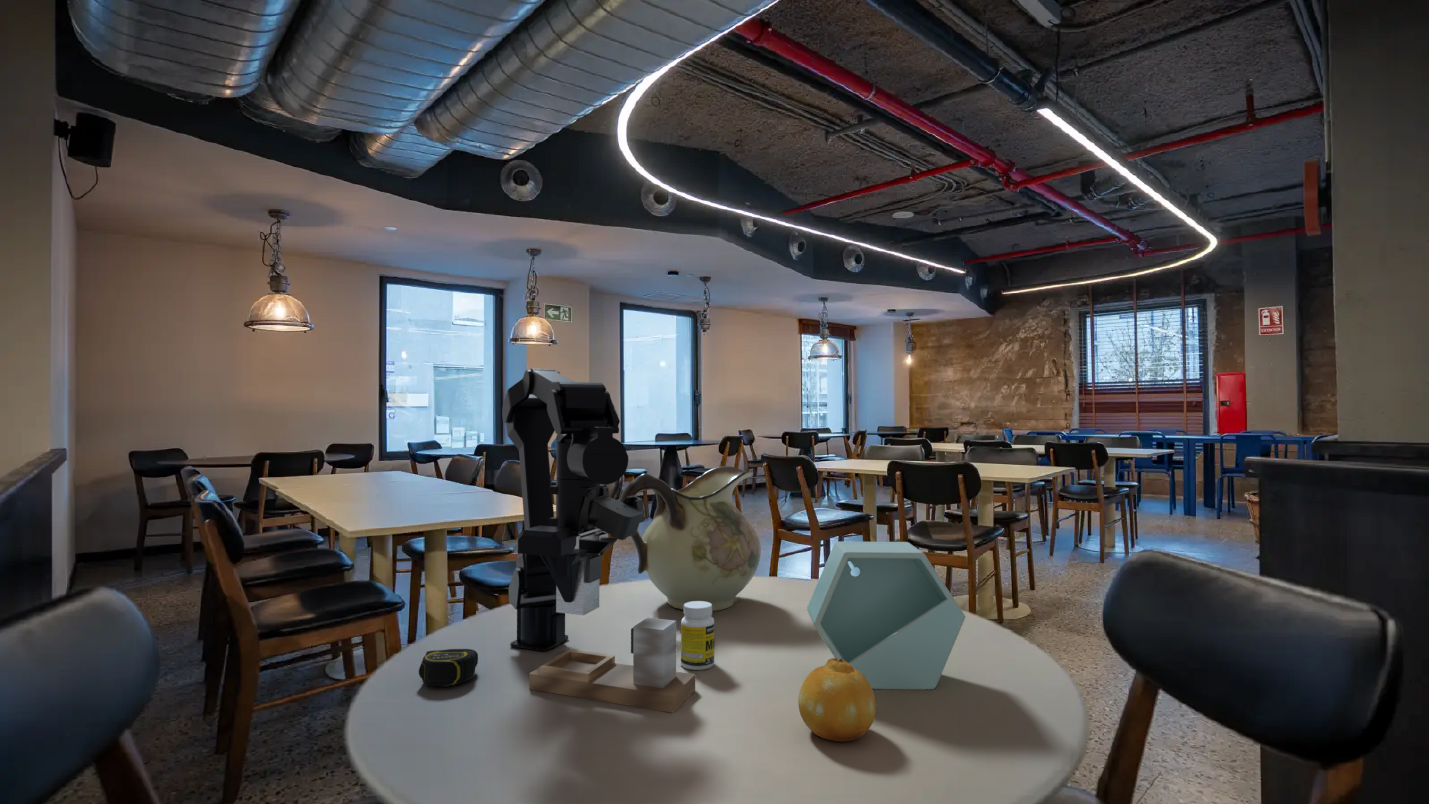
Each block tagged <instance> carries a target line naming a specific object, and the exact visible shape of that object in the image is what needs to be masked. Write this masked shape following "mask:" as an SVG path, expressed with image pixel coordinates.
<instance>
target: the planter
mask: <svg viewBox="0 0 1429 804" xmlns="http://www.w3.org/2000/svg"><path fill="white" fill-rule="evenodd" d="M849 562H850V563H851V565H853V567H854V568H858V569H859V572H858V574H856V575H852V572H851V571H852V568H851V566H850V564H849ZM806 608H807V612H808V614H809V617H810V619H811V622H812V625H813V626H814V628H815V630H816V631H817V633H818V634H819V636H820V637H821V639H822V640H823V643H824V644H825V645H826V646H827V648H828V649H829V651H830V653H831V654H832V657H834V658H837V659H841V658H842V659H843V660H844V661H846V662H848V663H849V664H851V666H852V667H853V668H854V669H856V670H858V671H859V672H860V673H861V674H862V675H864V677H865V678H866V679H867V681H868V682H869V684H870V686H871V688H872V690H921V691H922V690H924V691H926V689H928V690H929V689H932V690H934V689H936V688H937V685H938V683H939V680H940V679H941V676H942V673H943V671H944V669H945V666H946V664H947V663H948V659H949V657H950V655H951V653H952V650H953V649H954V648H953V647H954V646H955V644H956V641H957V639H958V636H959V634H960V632H961V629H962V626H963V625H964V622H965V619H966V615H965V613H964V612H963V610H962V609H961V607H960V605H959V603H957V601H956V600H955V598H954V596H953V595H952V594H951V592H950V591H949V589H948V588H947V586H946V585H945V583H944V582H943V580H942V578H941V577H940V575H939V574H938V572H937V570H936V569H935V568H934V566H933V565H932V563H931V562H930V560H929V559H928V557H927V556H926V554H925V553H924V552H923V551H921V550H920V549H919V548H917V547H916V546H914V545H913V544H912V543H910V542H908V541H835V542H834V543H833V546H832V548H831V551H830V553H829V555H828V558H827V560H826V562H825V565H824V567H823V570H821V574H820V576H819V578H818V582H817V583H816V586H815V588H814V590H813V593H812V596H811V597H810V600H809V602H808V605H807V606H806Z"/></svg>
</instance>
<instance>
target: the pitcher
mask: <svg viewBox="0 0 1429 804" xmlns="http://www.w3.org/2000/svg"><path fill="white" fill-rule="evenodd" d="M753 475H754V471H753V470H752V469H748V470H746V471H745V470H743V469H740V468H738V467H734V466H728V465H727V466H726V465H725V466H724V465H723V466H718V467H715V468H711V469H709V470H707V471H705V472H704V473H702V475H699V476H697V477H696V478H695V479H694V480H693V481H691V482H690V483H689V484H687V485H686V486H685V487H684V486H683V488H680V489H678V490H677V489H675V488H674V487H673V488H672V487H670V485H668V483H666V482H665V481H664V480H662V479H660V478H658V477H655V476H654V475H652V474H650V473H645V472H644V473H642V474H640V475H638V476H636V478H634V479H633V480H631V481H630V482H629V483H628V484H627V486H626V487H625V488H624V490H623V491H622V493H621V496H620V498H619V499H620V500H622V502H623V501H624V500H625V499H626V498H627V497H630V496H637V494H638V493H640V492H643V491H644V492H645V491H649V490H652V491H653V492H654V494H655V498H656V509H655V511H654V515H653V519H652V522H651V523H650V524H649V525H648V526H647V528H646V530H645V531H644V534H643V535H642V536H641V534H640V532H639V531H638V529H637V532H636V535H635V536H630V538H631V540H632V542H633V544H634V546H635V548H636V551H637V556H638V567H637V572H638V574H643V573H644V572H645V574H646V575H647V577H648V579H649V580H650V581H651V583H652V584H653V585H654V587H655V588H656V589H657V590H659V591H660V593H662V594H663V595H664V596H665V597H666V599H667V603H668V605H670V607H673V608H674V609H679V610H682V611H684V604H685V603H687V602H692V601H705V602H709V603H711V604H712V612H718V611H723V610H725V609H728V608H731V607H732V606H734V604H735V600H736V599H735V598H736V596H737V595H739V594H740V593H741V592H742V591H743V590H744V589H745V587H747V586H748V584H749V583H750V582H751V580H752V579H753V577H754V576H755V574H756V572H757V570H758V567H759V564H760V561H761V556H762V555H761V554H762V550H761V549H762V548H761V541H760V538H759V534H758V533H757V531H756V529H755V528H754V527H753V524H751V522H750V521H749V520H748V519H747V518H746V516H745V515H744V514H743V513H742V512H741V511H740V510H739V509H738V508H737V506H736V505H735V503H734V501H733V493H734V490H735V488H736V486H737V485H738V484H739V483H741V481H743V480H745V479H747V478H750V477H752V476H753Z"/></svg>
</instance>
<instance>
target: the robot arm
mask: <svg viewBox="0 0 1429 804" xmlns="http://www.w3.org/2000/svg"><path fill="white" fill-rule="evenodd" d="M524 371H525V372H524V373H523V376H522V379H520V380H519V381H518V382H516V383H515V384H513V385H511V386H510V388H508V389H507V390H506V394H505V396H504V400H503V403H502V410H501V411H502V413H501V415H502V421H503V423H504V424H506V425H505V426H506V434H507V437H508V438H509V440H510V441H511V442H512V444H513V445H514V446H515V447H516V449H517V450H518V456H519V468H520V469H519V471H520V482H521V483H520V485H521V497H522V511H523V522H524V523H523V525H524V526H523V527H524V529H523V530H522V531H521V532H520V533H519V534H518V535H517V537H516V553H517V554H518V555H517V556H516V559H515V560H516V562H515V564H516V565H515V566H516V567H514V570H513V573H512V577H511V579H510V583H509V586H508V589H507V590H508V601H509V604H510V605H511V607H513V608H514V609H515V610H516V639H515V640H513V641H511V642H510V644H509V646H510V647H513V648H520V649H527V650H535V651H540V652H547V651H549V650H550V649H552V648H555V647H556V646H557V645H559V644H560V645H561V643H563V642H565V641H566V640H568V639H569V635H568V634H566V613H559V612H556V586H557V588H558V590H559V592H560V594H561V596H562V598H563V600H564V601H565V602H569V603H571V602H573V598H574V592H575V583H576V573H577V564H578V561H579V560H580V559H581V557H582V556H583V555H584V554H585V553H596V554H600V555H602V556H603V555H604V553H605V551H607V549H609V547H611V546H612V545H613V544H615V543H616V542H617V541H618V540H619V541H624V540H626V539H627V538H629V537H631V536H635V535H636V532H637V530H638V529H639V526H640V524H641V523H643V522H645V521H646V516H645V513H646V511H645V509H644V508H645V507H644V500H643V498H642V497H639V496H637V495H635V496H630V497H627V498H626V499H625V500H624V501H623V502H622V500H620V498H619V499H614V498H612V497H610V494H609V493H610V489H609V487H608V485H611V484H614V483H616V482H618V481H619V480H620V479H621V478H622V477H624V475H625V473H626V472H627V469H628V467H629V455H628V452H627V448H625V446H624V444H623V443H622V442H621V441H620V440H618V438H615V437H614V434H619V433H620V428H619V424H620V421H621V420H620V418H619V415H618V413H617V410H616V408H615V405H614V403H613V401H612V398H611V394H610V392H609V391H607V388H606V386H605V385H604V384H603V382H597V381H596V382H592V381H591V382H589V381H575V380H573V379H571V378H569V377H567V376H565V375H563V374H561V372H560V370H556V369H554V368H530V369H526V370H524ZM554 433H555V434H556V437H555V441H556V451H555V452H556V471H555V473H556V474H555V477H556V478H555V485H552V480H551V479H552V478H551V465H550V455H549V454H550V453H549V442H550V441H551V439H552V437H553V435H554ZM553 495H555V510H554V503H553V502H554V499H553ZM609 535H610V537H609Z"/></svg>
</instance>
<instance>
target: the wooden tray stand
mask: <svg viewBox="0 0 1429 804" xmlns="http://www.w3.org/2000/svg"><path fill="white" fill-rule="evenodd" d="M630 654H633V663H632V664H633V665H632V664H624V663H616V655H614V654H613V655H612V654H605V653H600V652H599V653H598V652H592V651H583V650H576V649H571V648H570V649H567V650H566V651H564V652H562V653H560V654H559V655H558V656H556V657H554V658H552V659H550V660H549V661H547V662H545V663H544V664H542V665H541V666H539V667H537V668H536V669H534V670H533V671H531V672H529V673H528V674H529V676H528V680H529V681H528V689H529V690H532V691H538V692H544V693H550V694H555V695H556V694H557V695H563V696H567V697H568V696H569V697H575V698H582V699H588V700H594V701H600V702H607V703H611V704H618V705H623V706H629V707H630V706H631V707H637V708H642V709H648V710H655V711H660V712H661V711H662V712H668V713H675V711H677V709H679V707H681V705H682V704H683V703H685V701H686V700H687V699H688V698H689V697H690V696H691V695H693V694H694V692H695V691H696V674H695V673H688V672H680V671H677V620H673V619H664V618H656V617H654V618H653V617H645V618H644V619H643V620H641V621H640V622H639V623H636V624H635V625H633V626H632V628H630Z"/></svg>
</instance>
